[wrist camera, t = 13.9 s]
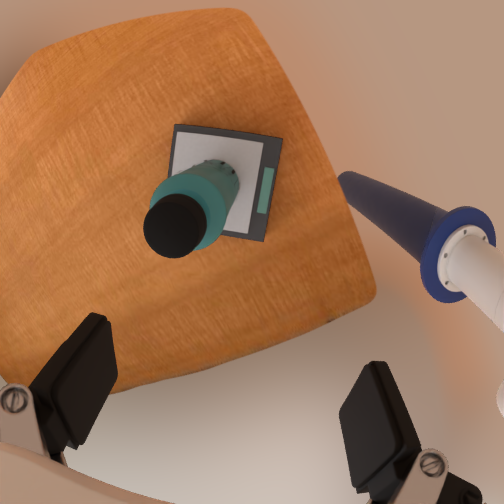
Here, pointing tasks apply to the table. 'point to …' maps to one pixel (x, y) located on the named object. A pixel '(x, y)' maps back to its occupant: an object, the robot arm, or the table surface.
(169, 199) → the beverage bottle
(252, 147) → the scale
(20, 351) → the table surface
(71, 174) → the table surface
